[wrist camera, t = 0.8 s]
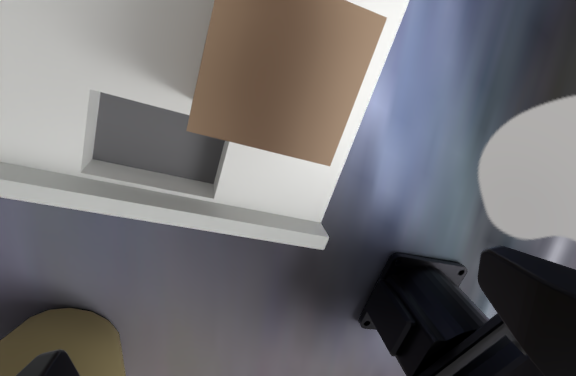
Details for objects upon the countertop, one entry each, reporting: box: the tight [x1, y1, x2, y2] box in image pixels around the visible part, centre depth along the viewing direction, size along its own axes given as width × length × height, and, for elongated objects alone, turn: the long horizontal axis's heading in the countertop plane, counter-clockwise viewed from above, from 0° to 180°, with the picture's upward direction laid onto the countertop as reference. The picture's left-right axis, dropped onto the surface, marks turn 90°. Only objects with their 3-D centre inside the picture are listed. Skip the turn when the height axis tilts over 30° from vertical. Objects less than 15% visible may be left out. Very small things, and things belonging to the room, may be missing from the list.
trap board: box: [0, 0, 409, 250], centre depth 13 cm, size 22×16×5 cm
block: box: [186, 0, 387, 166], centre depth 13 cm, size 5×5×5 cm
